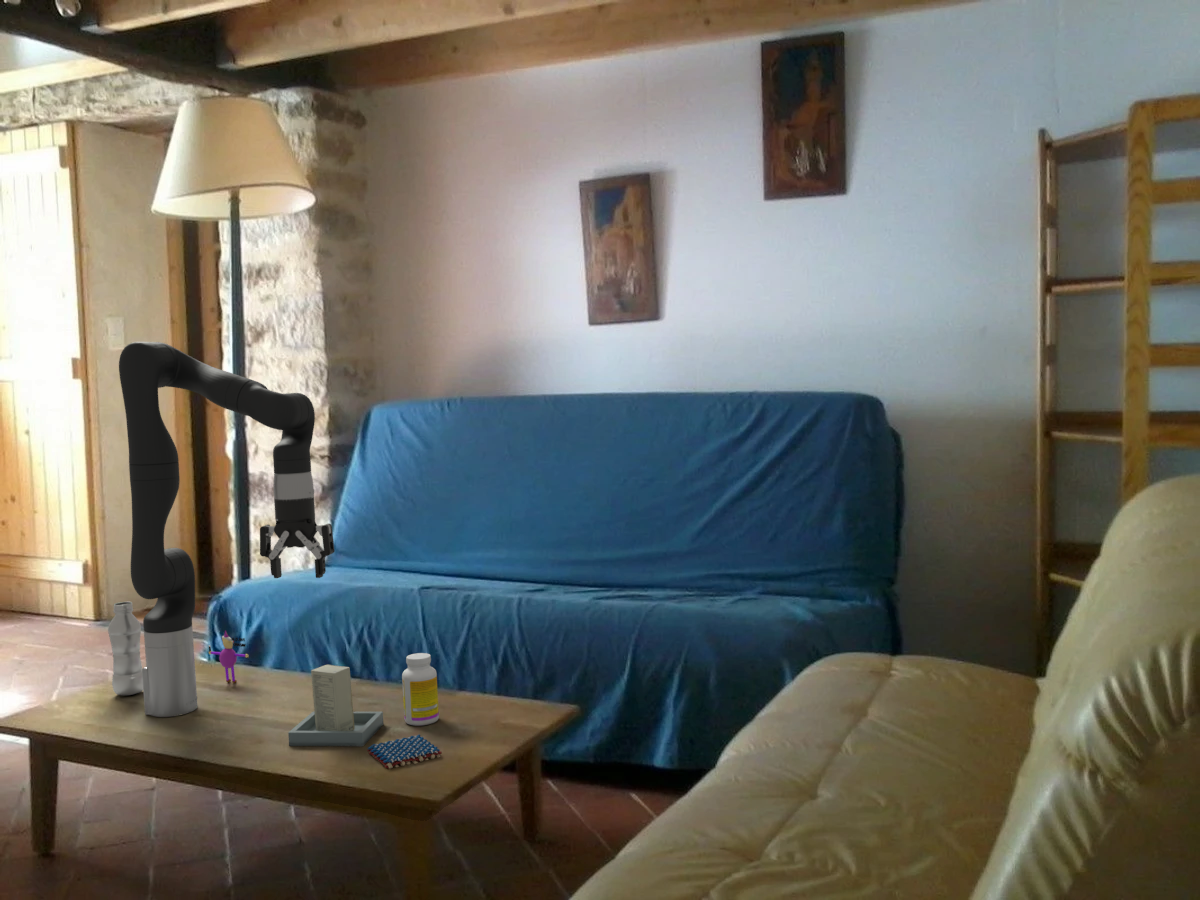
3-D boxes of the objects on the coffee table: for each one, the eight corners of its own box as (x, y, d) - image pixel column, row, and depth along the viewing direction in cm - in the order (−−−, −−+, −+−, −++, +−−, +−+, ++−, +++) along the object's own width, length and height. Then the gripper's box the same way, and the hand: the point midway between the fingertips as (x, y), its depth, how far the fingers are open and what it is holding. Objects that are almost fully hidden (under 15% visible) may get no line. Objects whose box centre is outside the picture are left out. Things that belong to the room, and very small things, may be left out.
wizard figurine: (254, 683, 239) (251, 630, 238) (244, 687, 236) (240, 633, 235) (215, 679, 243) (211, 627, 242) (205, 683, 240) (201, 630, 239)
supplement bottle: (446, 720, 209) (443, 655, 208) (418, 729, 204) (415, 662, 203) (424, 713, 213) (421, 649, 212) (397, 722, 209) (394, 657, 208)
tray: (289, 745, 197) (288, 732, 197) (313, 724, 209) (313, 711, 209) (362, 746, 196) (362, 732, 195) (383, 724, 208) (382, 711, 207)
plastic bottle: (138, 698, 230) (132, 606, 229) (107, 699, 230) (100, 607, 229) (151, 689, 237) (145, 599, 235) (120, 690, 237) (114, 600, 235)
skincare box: (355, 730, 203) (351, 667, 202) (338, 737, 199) (335, 673, 198) (330, 725, 206) (327, 663, 205) (313, 733, 202) (310, 669, 201)
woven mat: (444, 759, 189) (443, 748, 189) (386, 773, 183) (386, 761, 183) (421, 743, 198) (421, 732, 198) (365, 755, 192) (365, 744, 192)
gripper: (250, 498, 207) (255, 581, 208) (322, 497, 206) (326, 580, 207) (267, 493, 215) (271, 574, 216) (336, 492, 213) (340, 573, 214)
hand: (298, 577), depth 211 cm, fingers open, 8 cm apart
